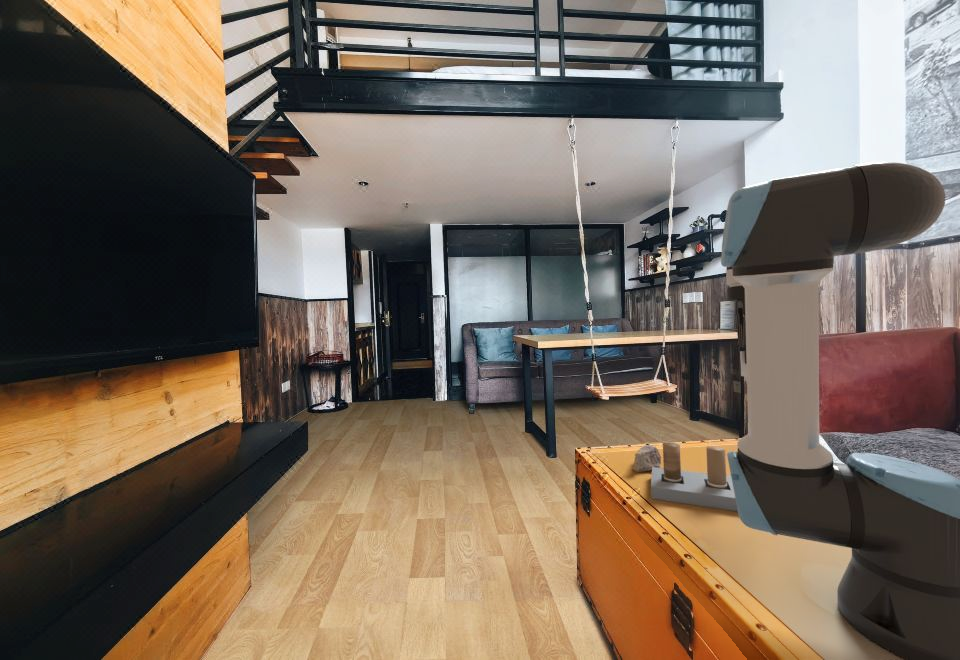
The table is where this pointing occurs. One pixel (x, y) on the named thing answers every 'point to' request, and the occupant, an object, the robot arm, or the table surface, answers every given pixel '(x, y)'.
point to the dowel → (672, 463)
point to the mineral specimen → (647, 458)
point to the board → (698, 484)
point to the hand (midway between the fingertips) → (747, 375)
